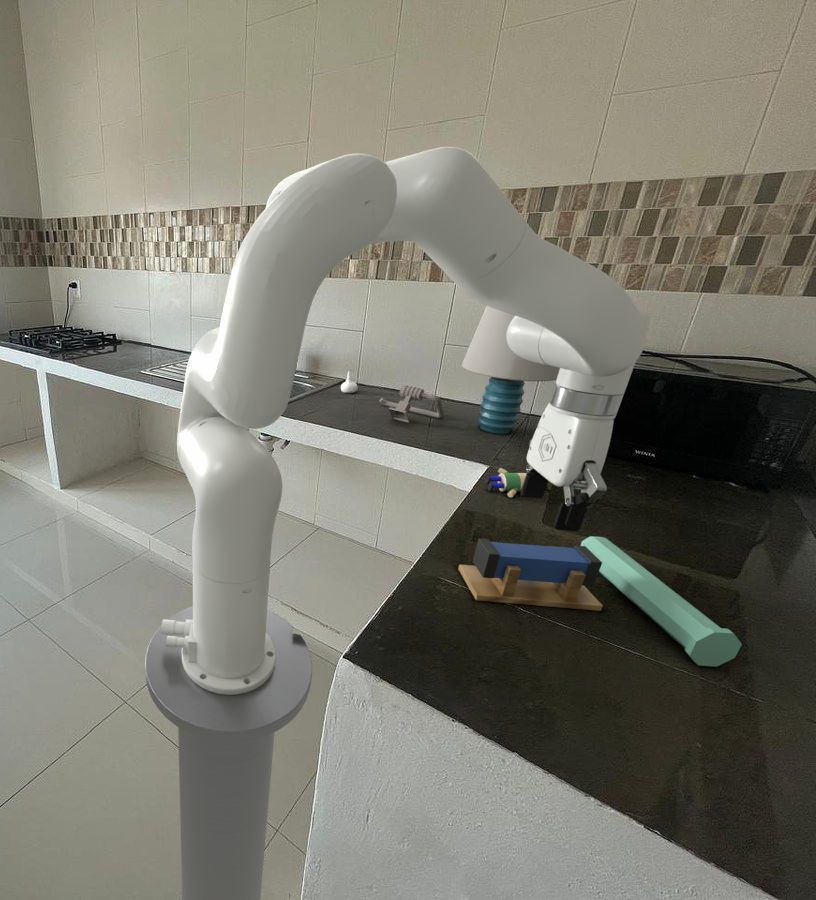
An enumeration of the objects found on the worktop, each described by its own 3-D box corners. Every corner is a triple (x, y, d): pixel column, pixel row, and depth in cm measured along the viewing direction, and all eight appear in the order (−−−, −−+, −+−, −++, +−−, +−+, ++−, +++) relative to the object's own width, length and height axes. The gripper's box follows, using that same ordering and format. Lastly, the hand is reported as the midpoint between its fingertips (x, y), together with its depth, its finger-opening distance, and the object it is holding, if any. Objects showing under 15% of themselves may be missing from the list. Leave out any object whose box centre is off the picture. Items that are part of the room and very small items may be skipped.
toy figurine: (491, 503, 108) (548, 503, 106) (498, 491, 104) (557, 491, 103) (480, 475, 113) (534, 474, 112) (486, 462, 110) (542, 462, 109)
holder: (475, 600, 74) (484, 568, 72) (457, 569, 82) (465, 539, 79) (601, 611, 72) (614, 578, 70) (571, 578, 80) (582, 547, 77)
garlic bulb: (358, 394, 182) (360, 373, 179) (341, 393, 183) (343, 373, 180) (355, 390, 188) (358, 369, 185) (339, 389, 189) (341, 369, 186)
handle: (482, 577, 75) (489, 554, 73) (472, 561, 79) (478, 538, 77) (593, 586, 73) (602, 562, 71) (576, 569, 77) (585, 545, 75)
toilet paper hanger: (447, 413, 157) (441, 388, 147) (432, 441, 154) (425, 417, 144) (383, 398, 171) (374, 375, 162) (368, 424, 169) (358, 401, 159)
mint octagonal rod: (586, 524, 84) (714, 624, 61) (615, 537, 84) (753, 641, 61) (564, 550, 86) (679, 657, 63) (592, 563, 86) (717, 673, 63)
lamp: (435, 427, 148) (462, 294, 133) (468, 411, 164) (495, 291, 149) (527, 451, 131) (569, 302, 116) (554, 430, 147) (594, 297, 132)
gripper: (524, 384, 73) (496, 484, 80) (593, 419, 57) (551, 541, 64) (576, 387, 73) (544, 488, 79) (661, 423, 57) (611, 546, 63)
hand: (547, 512), depth 71 cm, fingers open, 9 cm apart
